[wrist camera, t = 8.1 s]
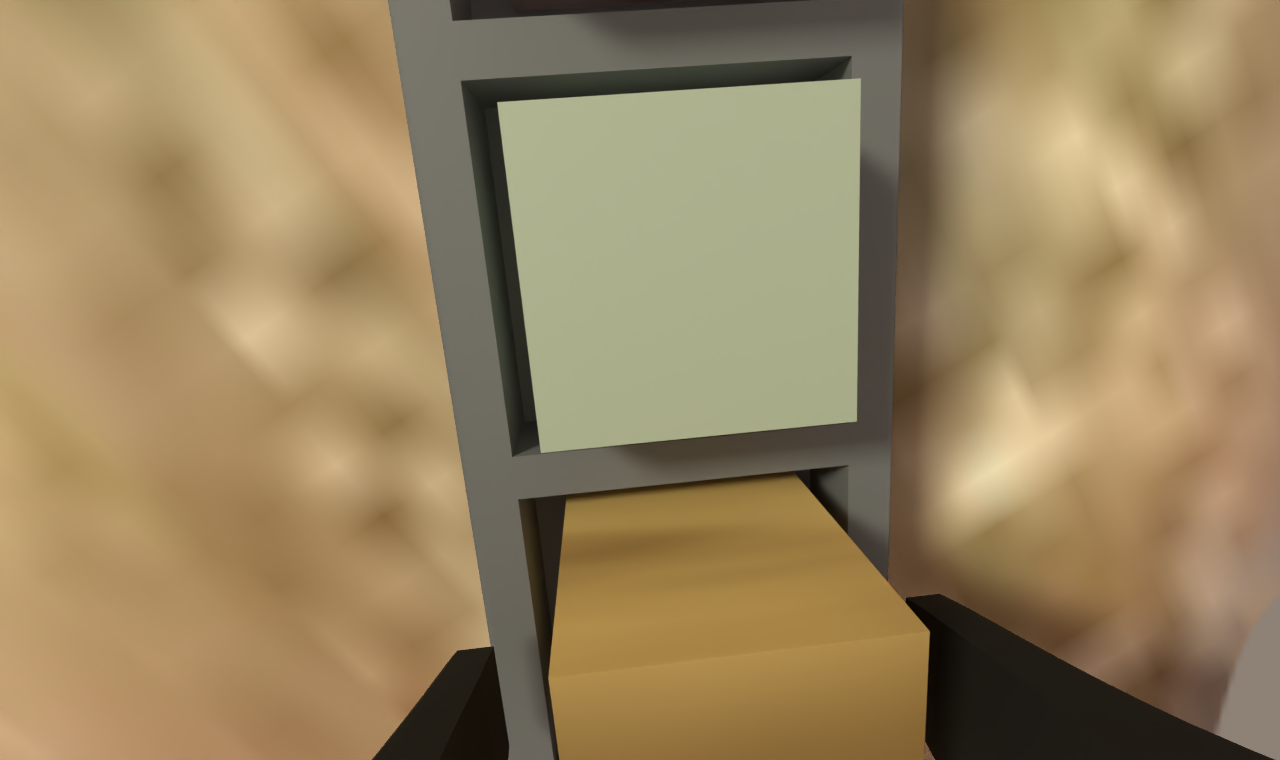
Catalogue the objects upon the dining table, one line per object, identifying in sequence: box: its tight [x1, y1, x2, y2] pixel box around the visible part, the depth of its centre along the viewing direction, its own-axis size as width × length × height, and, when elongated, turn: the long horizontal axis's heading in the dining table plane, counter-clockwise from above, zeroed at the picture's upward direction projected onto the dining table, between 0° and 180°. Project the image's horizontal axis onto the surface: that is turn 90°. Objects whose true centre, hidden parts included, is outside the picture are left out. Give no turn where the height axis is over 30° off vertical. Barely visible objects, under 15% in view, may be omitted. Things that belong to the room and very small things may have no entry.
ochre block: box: [548, 471, 930, 760], centre depth 10 cm, size 4×4×6 cm
